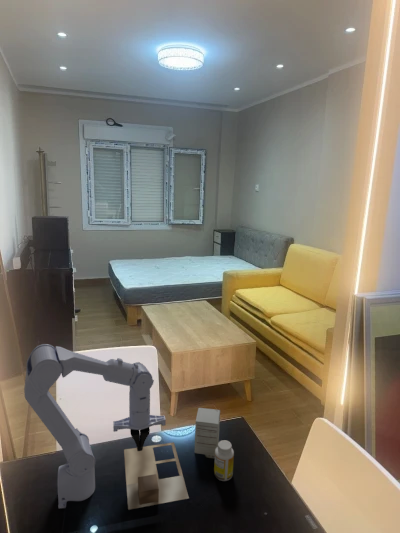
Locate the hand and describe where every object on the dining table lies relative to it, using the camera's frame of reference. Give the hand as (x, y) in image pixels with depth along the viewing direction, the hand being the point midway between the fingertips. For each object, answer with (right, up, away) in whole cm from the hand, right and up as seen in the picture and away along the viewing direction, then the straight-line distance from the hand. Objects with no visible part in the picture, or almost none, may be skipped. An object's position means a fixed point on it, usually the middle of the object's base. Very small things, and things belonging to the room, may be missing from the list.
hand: (139, 448), depth 104 cm
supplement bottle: (+24, -9, +3) cm, 26 cm away
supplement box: (+20, -7, +12) cm, 24 cm away
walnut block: (+3, -9, -7) cm, 12 cm away
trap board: (+4, -8, +1) cm, 9 cm away
